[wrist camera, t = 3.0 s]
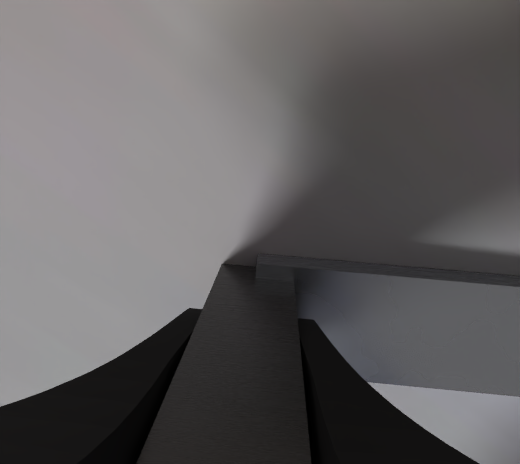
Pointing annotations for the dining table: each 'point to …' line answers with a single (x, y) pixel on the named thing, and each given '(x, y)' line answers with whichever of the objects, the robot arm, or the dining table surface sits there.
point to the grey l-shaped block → (344, 340)
